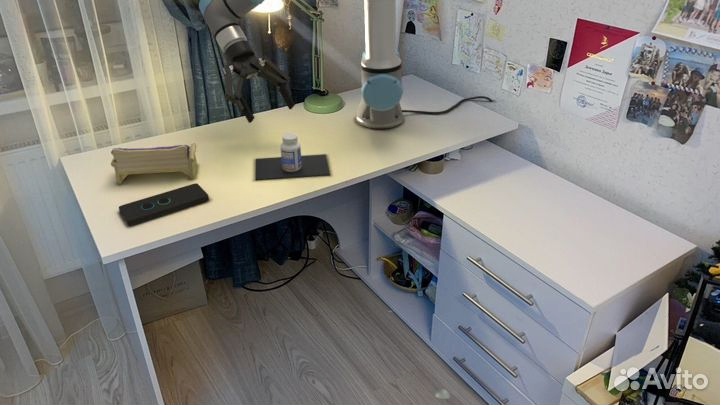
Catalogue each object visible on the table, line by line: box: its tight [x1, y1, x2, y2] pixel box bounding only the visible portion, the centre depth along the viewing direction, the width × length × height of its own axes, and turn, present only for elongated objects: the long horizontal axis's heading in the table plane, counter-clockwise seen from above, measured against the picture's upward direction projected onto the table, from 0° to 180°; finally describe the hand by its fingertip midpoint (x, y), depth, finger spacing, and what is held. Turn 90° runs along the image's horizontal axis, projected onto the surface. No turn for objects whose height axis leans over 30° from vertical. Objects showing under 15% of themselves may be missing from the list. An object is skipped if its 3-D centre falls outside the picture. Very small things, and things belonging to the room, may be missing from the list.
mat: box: [255, 153, 331, 181], centre depth 157 cm, size 20×12×1 cm, turn 99°
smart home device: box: [118, 182, 210, 227], centre depth 139 cm, size 8×2×20 cm
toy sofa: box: [110, 142, 198, 185], centre depth 151 cm, size 21×9×10 cm, turn 99°
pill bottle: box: [280, 132, 302, 172], centre depth 154 cm, size 5×5×10 cm
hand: (272, 113), depth 153 cm, fingers open, 13 cm apart
